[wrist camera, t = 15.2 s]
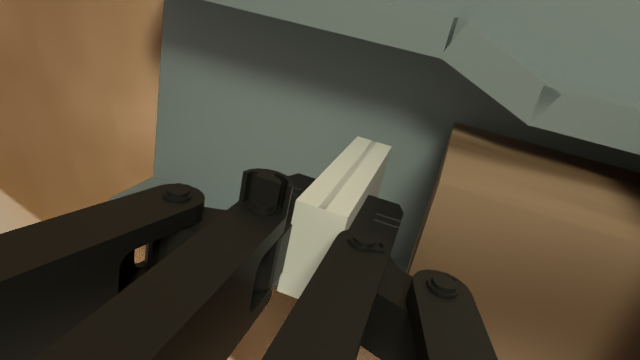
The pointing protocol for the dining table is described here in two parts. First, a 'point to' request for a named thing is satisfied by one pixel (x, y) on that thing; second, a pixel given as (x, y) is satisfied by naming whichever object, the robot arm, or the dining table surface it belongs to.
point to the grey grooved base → (388, 88)
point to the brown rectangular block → (538, 246)
